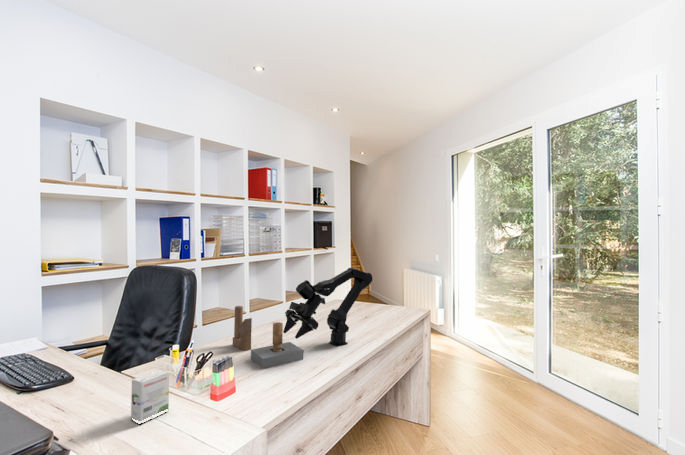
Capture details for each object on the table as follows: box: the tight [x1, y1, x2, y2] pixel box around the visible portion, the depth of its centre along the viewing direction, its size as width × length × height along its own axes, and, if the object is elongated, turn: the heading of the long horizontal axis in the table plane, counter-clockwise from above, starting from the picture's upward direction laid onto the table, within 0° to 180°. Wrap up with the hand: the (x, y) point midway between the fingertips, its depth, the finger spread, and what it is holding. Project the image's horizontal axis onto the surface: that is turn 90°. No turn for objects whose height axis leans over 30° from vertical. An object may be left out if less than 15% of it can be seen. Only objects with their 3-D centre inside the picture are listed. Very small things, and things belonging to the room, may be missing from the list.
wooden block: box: [232, 305, 253, 352], centre depth 157 cm, size 4×11×18 cm, turn 45°
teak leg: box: [272, 322, 284, 353], centre depth 144 cm, size 4×4×14 cm
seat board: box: [250, 341, 304, 370], centre depth 144 cm, size 18×12×4 cm, turn 126°
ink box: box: [130, 369, 170, 421], centre depth 99 cm, size 8×5×12 cm, turn 150°
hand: (289, 335), depth 148 cm, fingers open, 9 cm apart
